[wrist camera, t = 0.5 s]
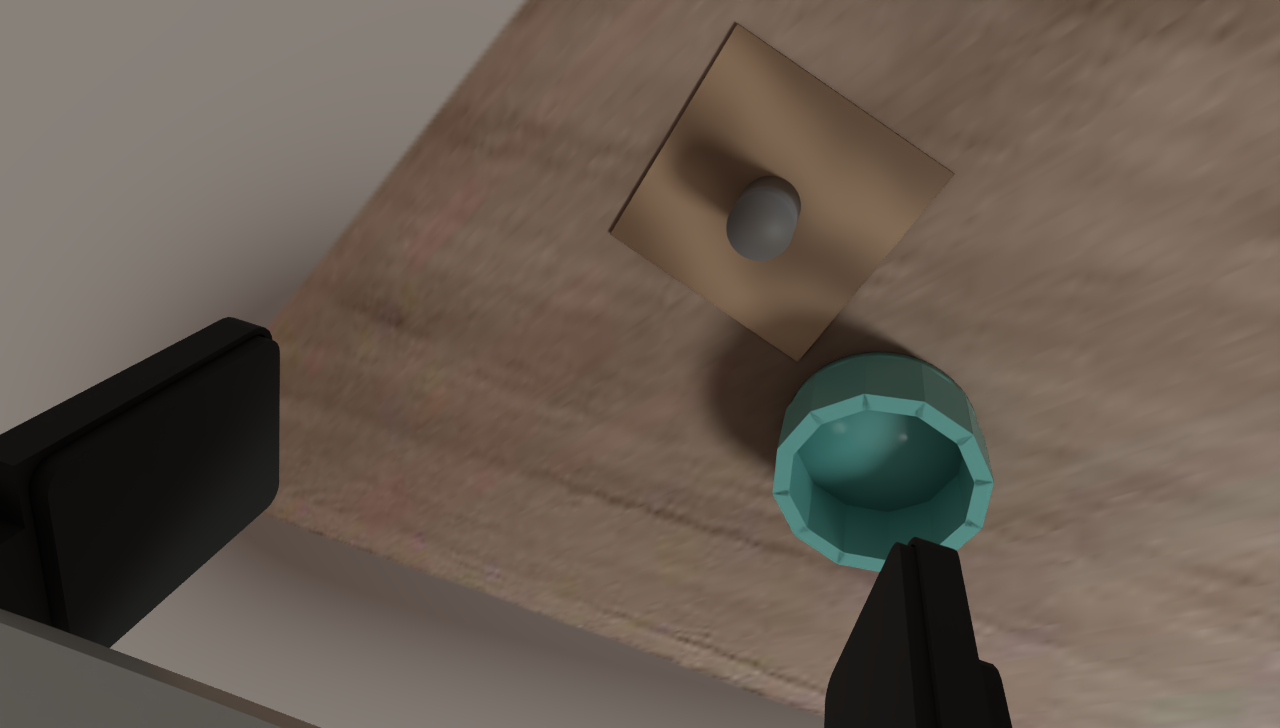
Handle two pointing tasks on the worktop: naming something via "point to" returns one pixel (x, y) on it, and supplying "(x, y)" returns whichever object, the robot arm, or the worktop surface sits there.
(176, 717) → the robot arm
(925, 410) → the bowl
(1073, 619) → the worktop surface
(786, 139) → the lid
